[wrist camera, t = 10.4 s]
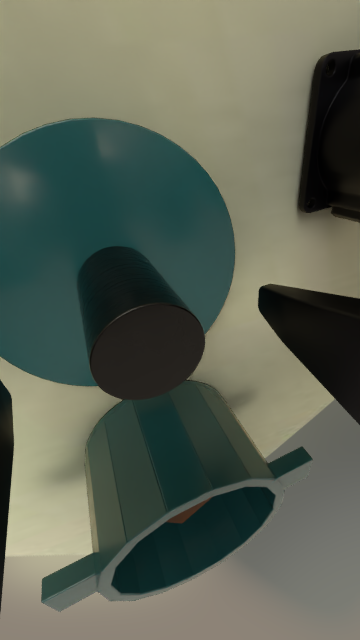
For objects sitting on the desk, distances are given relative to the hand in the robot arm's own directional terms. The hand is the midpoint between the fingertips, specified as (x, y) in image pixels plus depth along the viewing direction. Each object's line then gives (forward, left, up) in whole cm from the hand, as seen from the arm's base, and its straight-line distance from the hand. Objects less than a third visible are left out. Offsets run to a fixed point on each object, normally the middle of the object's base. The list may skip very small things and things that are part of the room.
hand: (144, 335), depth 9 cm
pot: (+14, 0, -6) cm, 15 cm away
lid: (0, 0, -5) cm, 5 cm away
